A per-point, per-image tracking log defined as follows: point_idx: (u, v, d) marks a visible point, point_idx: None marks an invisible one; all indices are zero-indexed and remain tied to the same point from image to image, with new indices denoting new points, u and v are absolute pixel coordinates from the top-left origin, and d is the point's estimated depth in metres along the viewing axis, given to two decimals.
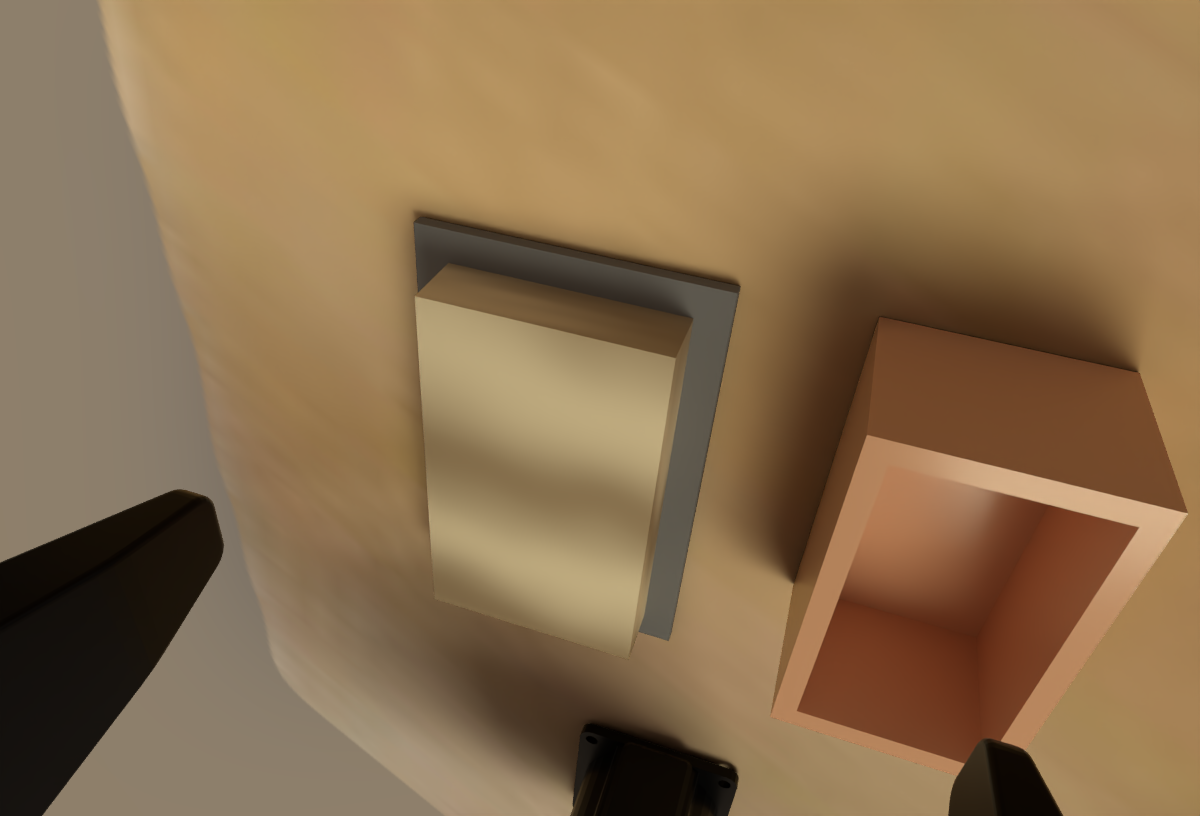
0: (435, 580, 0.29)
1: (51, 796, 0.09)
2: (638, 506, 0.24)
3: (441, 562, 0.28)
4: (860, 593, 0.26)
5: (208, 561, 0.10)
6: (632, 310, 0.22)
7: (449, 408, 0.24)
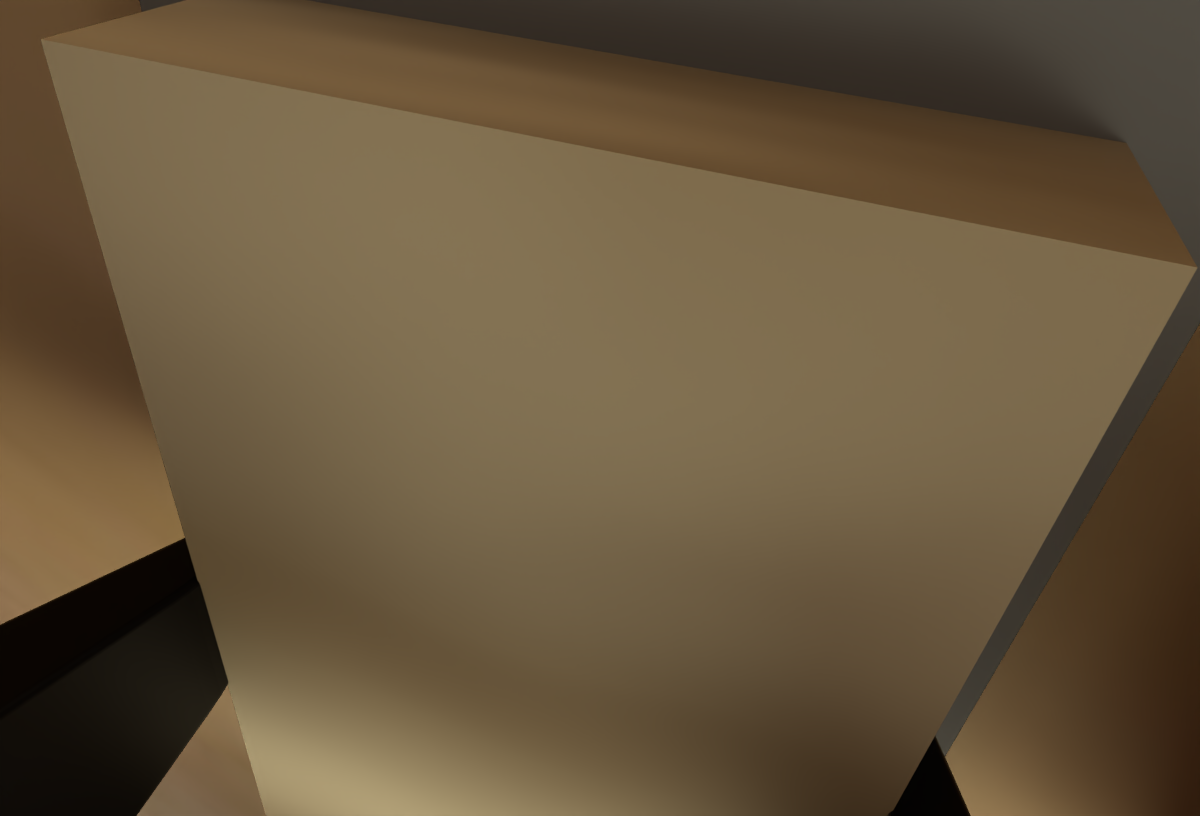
0: None
1: None
2: (850, 790, 0.07)
3: None
4: None
5: None
6: (888, 112, 0.06)
7: (241, 467, 0.07)
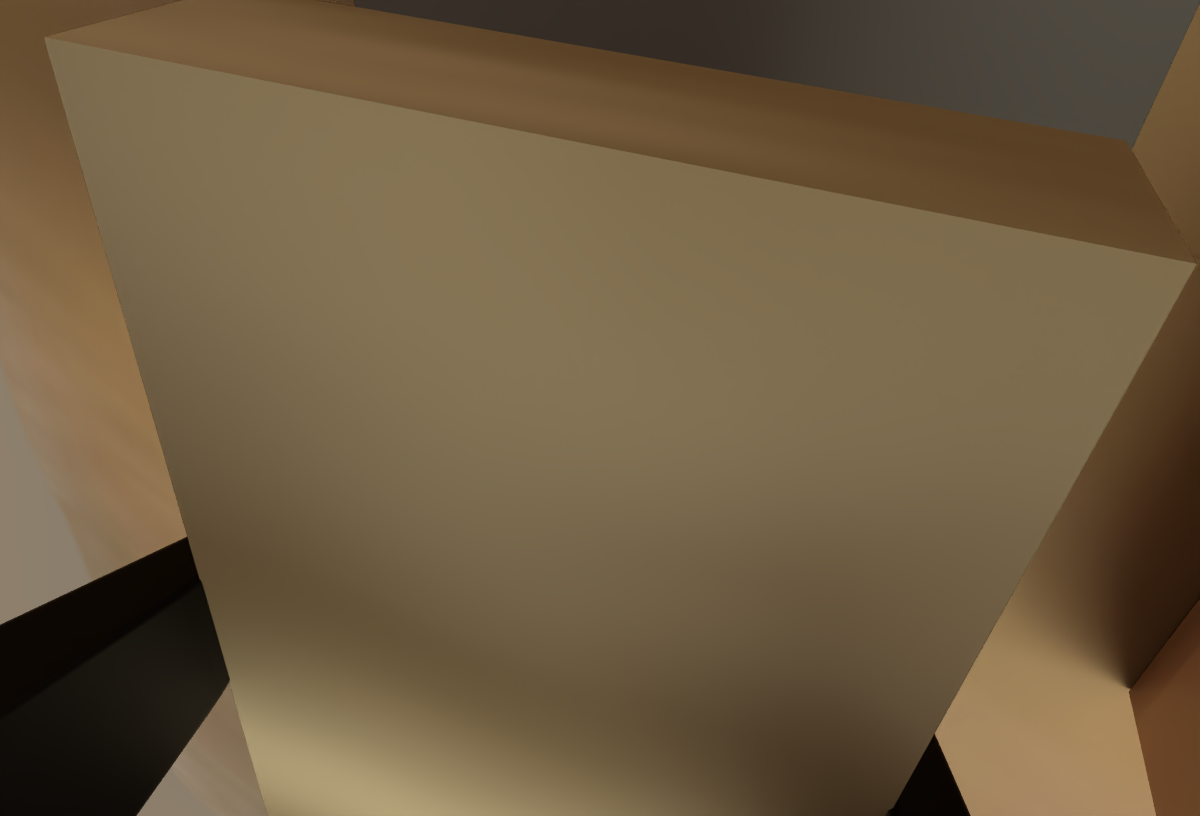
0: None
1: None
2: (850, 786, 0.07)
3: None
4: None
5: None
6: (888, 110, 0.06)
7: (243, 464, 0.08)
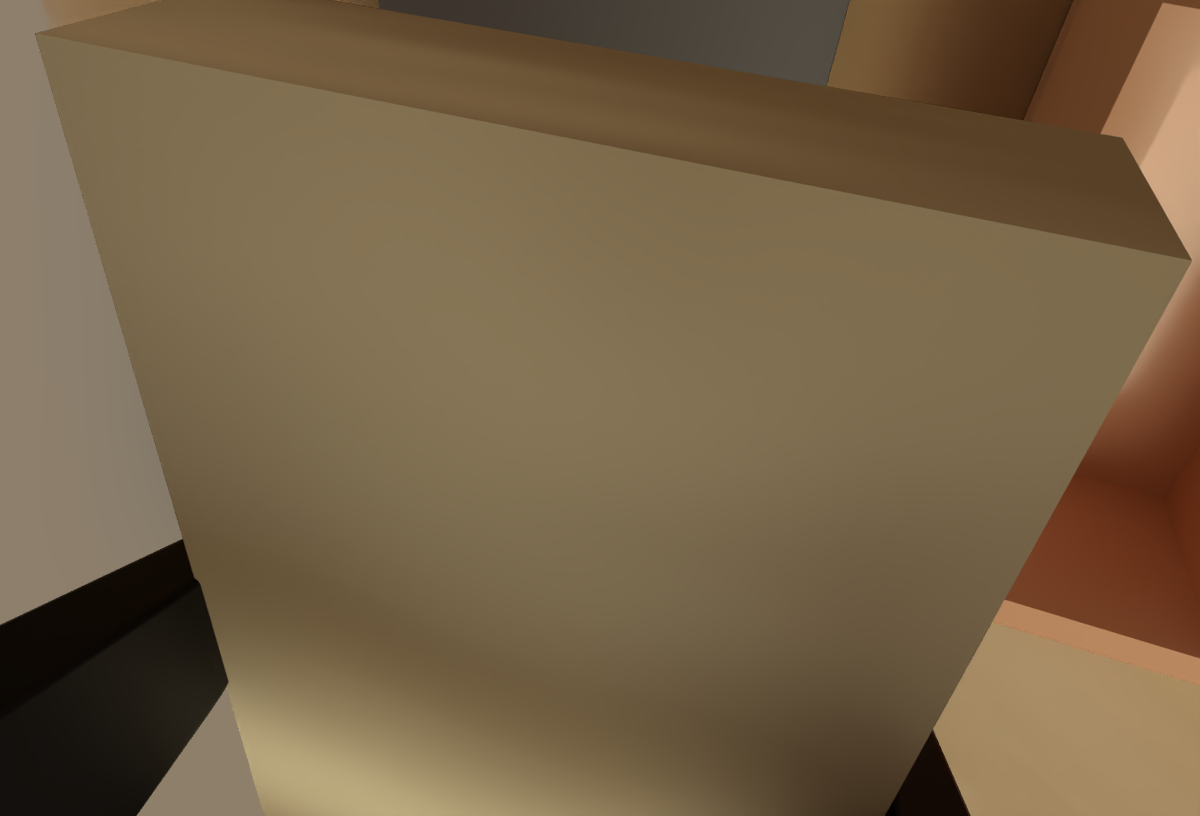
0: None
1: None
2: (846, 786, 0.07)
3: None
4: None
5: None
6: (884, 107, 0.06)
7: (237, 464, 0.07)
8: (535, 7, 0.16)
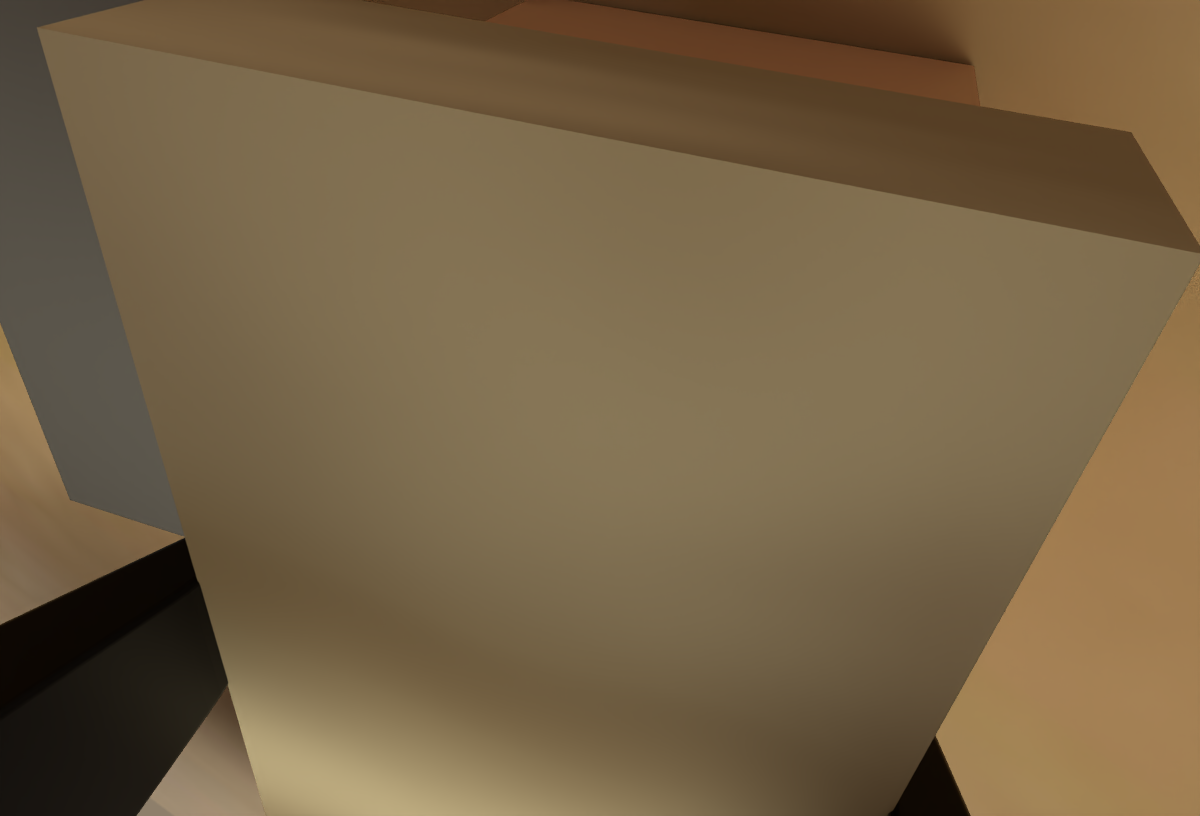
0: None
1: None
2: (852, 785, 0.07)
3: None
4: None
5: None
6: (891, 101, 0.06)
7: (240, 460, 0.07)
8: (37, 73, 0.15)
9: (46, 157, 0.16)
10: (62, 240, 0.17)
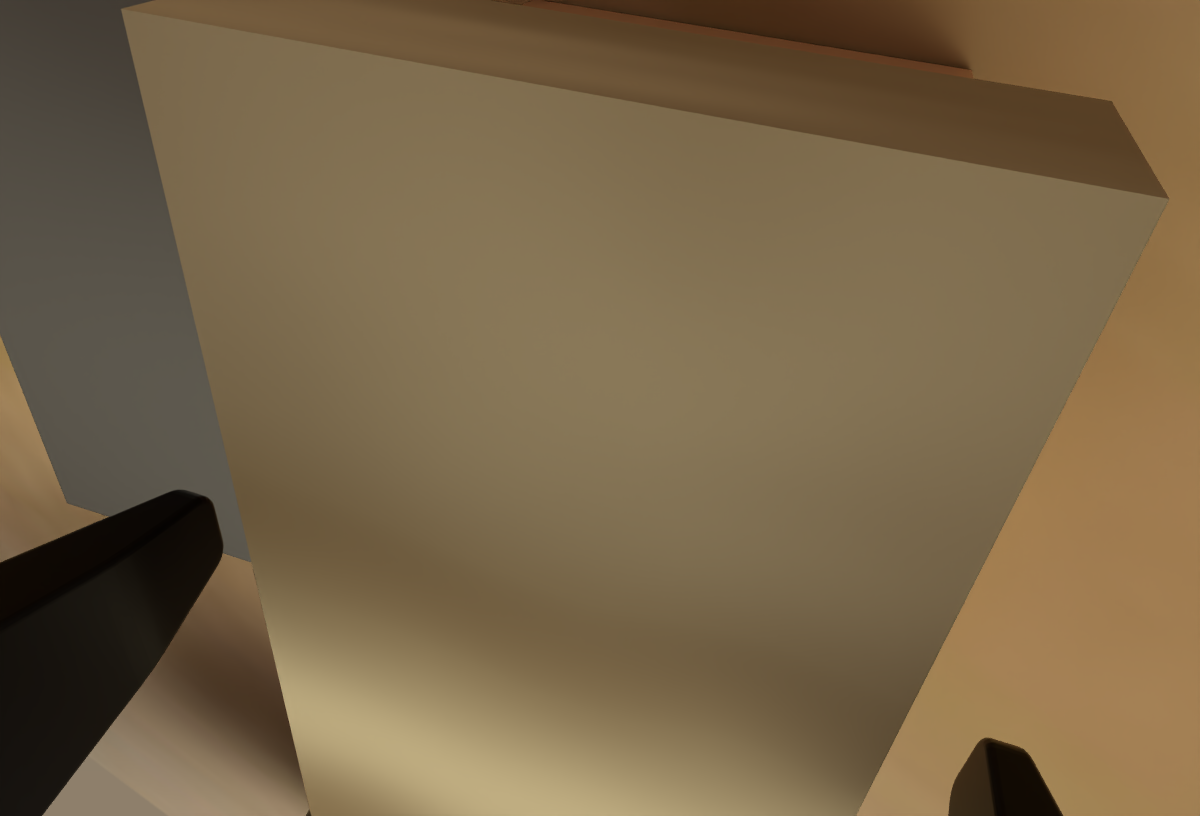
0: (313, 805, 0.13)
1: (51, 797, 0.09)
2: (858, 713, 0.08)
3: (322, 774, 0.12)
4: None
5: (208, 561, 0.10)
6: (893, 74, 0.06)
7: (290, 414, 0.08)
8: (34, 76, 0.15)
9: (42, 160, 0.16)
10: (58, 243, 0.17)
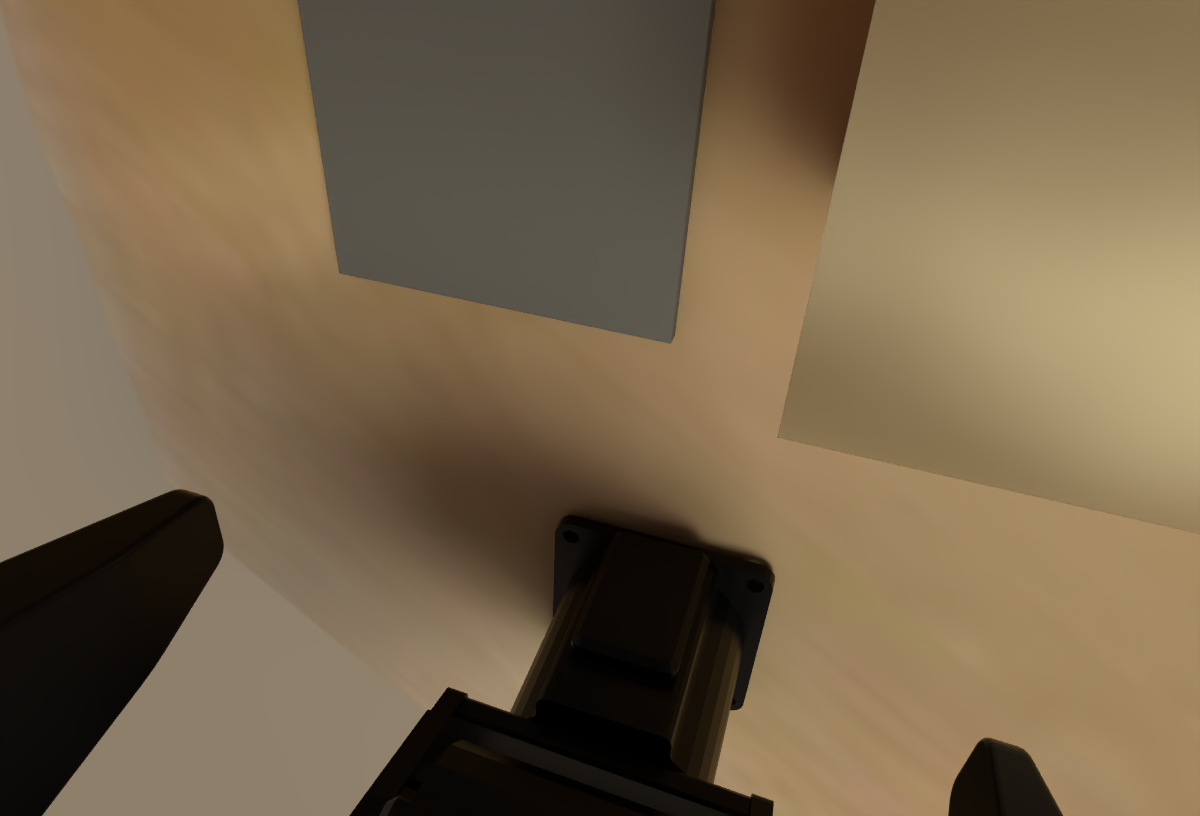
0: (795, 386, 0.12)
1: (50, 796, 0.09)
2: None
3: (828, 331, 0.12)
4: None
5: (208, 561, 0.10)
6: None
7: None
8: None
9: None
10: None
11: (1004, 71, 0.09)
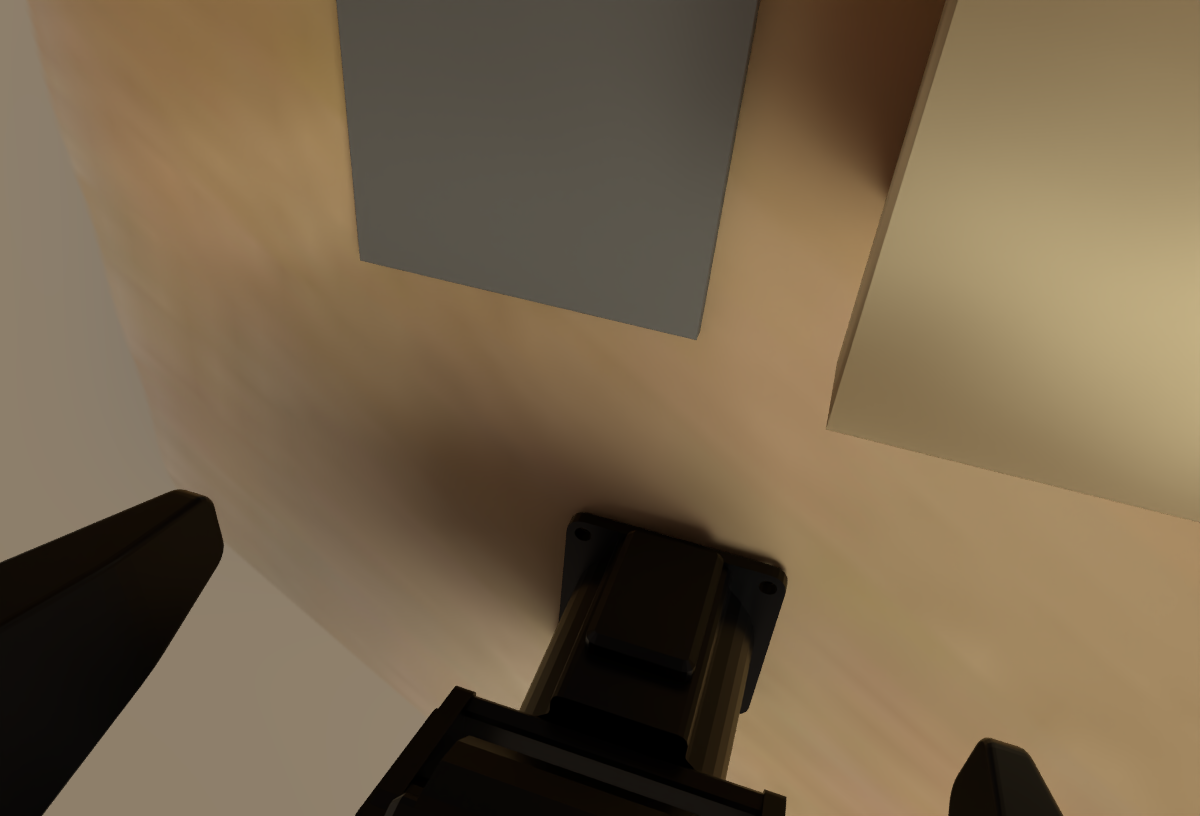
0: (848, 378, 0.12)
1: (51, 795, 0.09)
2: None
3: (886, 322, 0.12)
4: None
5: (208, 561, 0.10)
6: None
7: None
8: None
9: None
10: None
11: (1088, 60, 0.09)
